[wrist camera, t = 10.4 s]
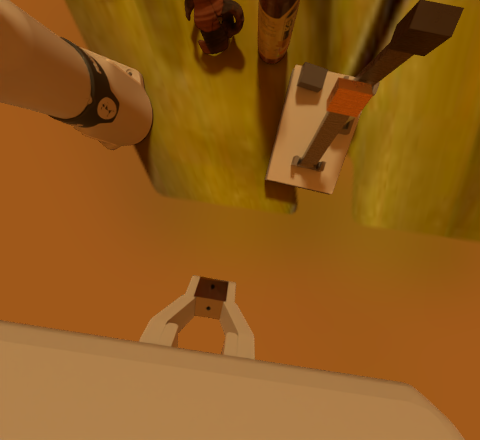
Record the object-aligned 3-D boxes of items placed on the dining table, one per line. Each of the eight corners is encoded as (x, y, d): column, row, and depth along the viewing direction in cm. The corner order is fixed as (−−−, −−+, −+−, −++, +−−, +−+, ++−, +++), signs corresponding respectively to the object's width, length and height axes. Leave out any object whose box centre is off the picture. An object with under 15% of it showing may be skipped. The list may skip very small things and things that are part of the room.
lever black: (339, 95, 33) (409, 28, 18) (344, 81, 32) (420, -1, 18) (362, 100, 33) (451, 36, 18) (367, 86, 32) (463, 7, 17)
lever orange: (295, 168, 36) (338, 87, 22) (296, 160, 37) (338, 77, 23) (315, 173, 36) (373, 95, 22) (316, 164, 37) (371, 84, 23)
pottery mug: (189, 55, 38) (168, -1, 30) (208, 26, 39) (192, -34, 32) (239, 60, 34) (230, -2, 27) (256, 28, 36) (253, -39, 28)
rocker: (296, 85, 32) (300, 81, 31) (301, 67, 32) (305, 62, 30) (317, 92, 33) (322, 88, 31) (323, 74, 32) (328, 69, 31)
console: (264, 179, 42) (266, 180, 36) (290, 75, 36) (298, 54, 30) (325, 193, 41) (338, 196, 35) (361, 90, 36) (383, 72, 30)
